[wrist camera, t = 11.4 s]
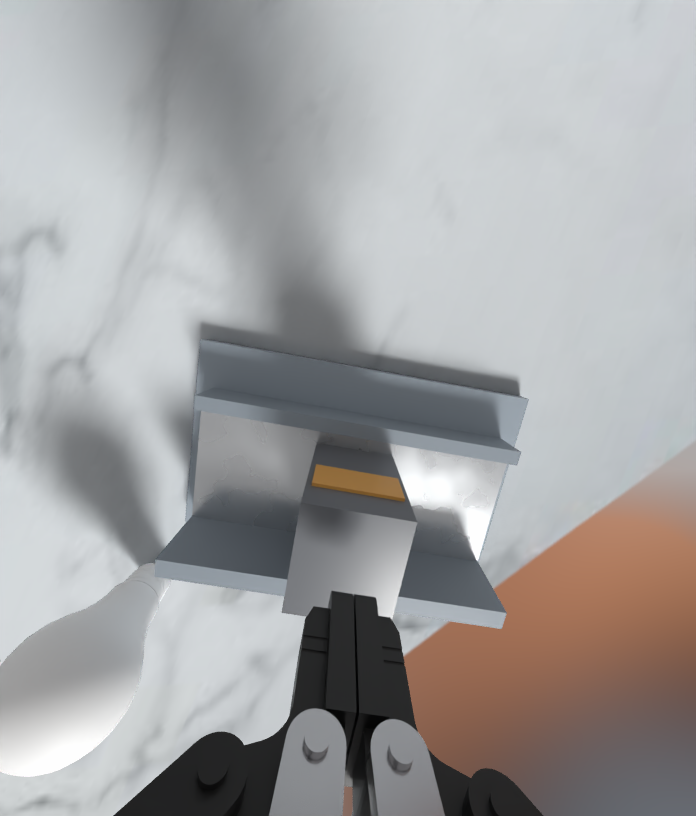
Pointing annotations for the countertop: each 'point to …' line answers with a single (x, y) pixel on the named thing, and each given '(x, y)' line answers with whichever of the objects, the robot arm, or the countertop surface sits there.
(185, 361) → the countertop surface
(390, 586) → the block
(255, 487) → the plate
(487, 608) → the grey stepped stand
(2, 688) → the lightbulb
